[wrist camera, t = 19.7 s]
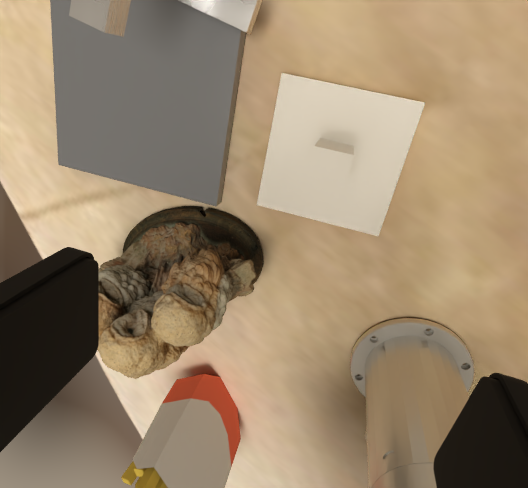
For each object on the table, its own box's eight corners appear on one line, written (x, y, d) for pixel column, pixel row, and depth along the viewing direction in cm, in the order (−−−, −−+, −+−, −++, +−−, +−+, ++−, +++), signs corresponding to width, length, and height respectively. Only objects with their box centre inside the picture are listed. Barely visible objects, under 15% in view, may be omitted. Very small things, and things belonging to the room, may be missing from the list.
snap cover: (377, 229, 36) (381, 258, 30) (261, 199, 38) (242, 221, 32) (421, 101, 31) (437, 104, 25) (285, 73, 33) (269, 69, 27)
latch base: (221, 202, 39) (216, 206, 37) (68, 162, 41) (58, 164, 40) (268, -123, 28) (264, -133, 26) (56, -152, 30) (42, -164, 29)
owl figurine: (257, 190, 37) (192, 263, 22) (283, 291, 41) (243, 412, 26) (111, 219, 42) (-25, 294, 27) (146, 306, 46) (45, 415, 31)
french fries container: (217, 427, 52) (154, 581, 36) (182, 366, 49) (96, 504, 33) (246, 423, 50) (194, 582, 34) (211, 360, 47) (136, 501, 31)
